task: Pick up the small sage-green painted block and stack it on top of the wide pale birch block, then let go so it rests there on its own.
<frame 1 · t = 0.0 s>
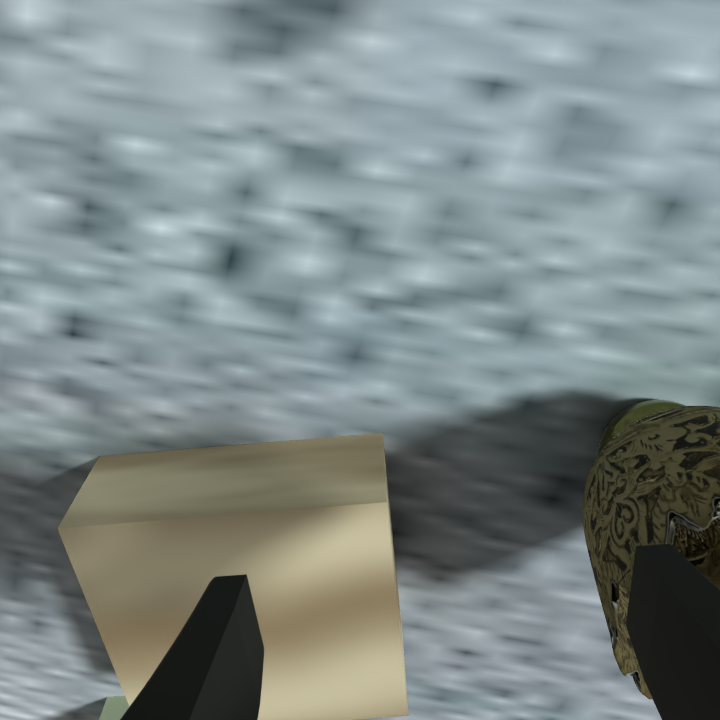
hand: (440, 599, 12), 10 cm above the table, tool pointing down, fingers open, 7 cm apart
birch block: (264, 545, 26), on the table
cup: (642, 433, 23), on the table
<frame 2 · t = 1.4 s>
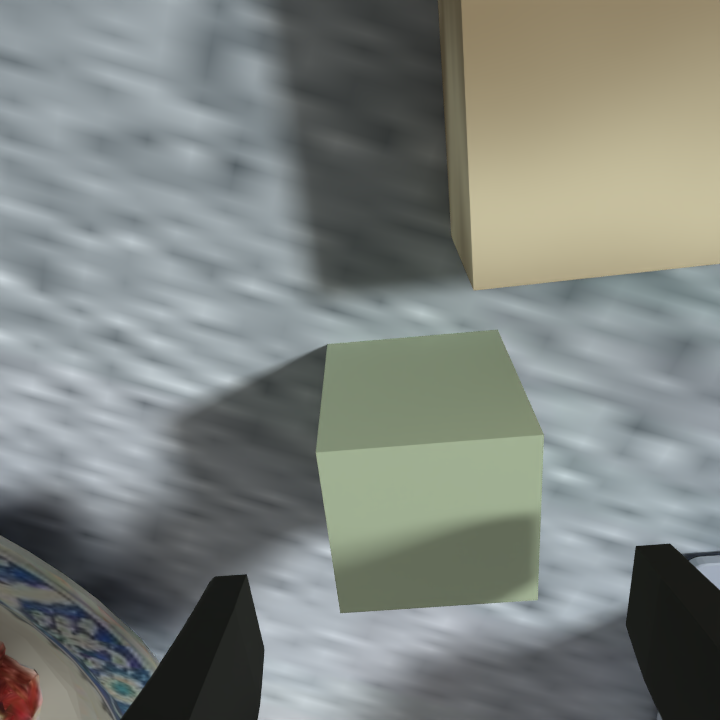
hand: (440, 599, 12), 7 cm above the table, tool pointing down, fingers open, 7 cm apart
green block: (416, 408, 18), on the table
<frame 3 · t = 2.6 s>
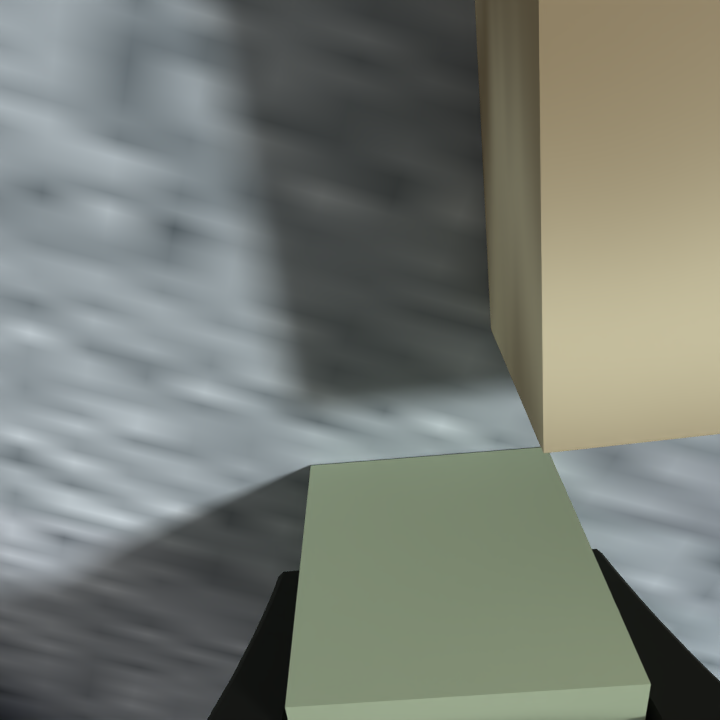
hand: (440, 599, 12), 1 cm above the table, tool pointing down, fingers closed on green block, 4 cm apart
green block: (433, 545, 14), on the table, touching gripper
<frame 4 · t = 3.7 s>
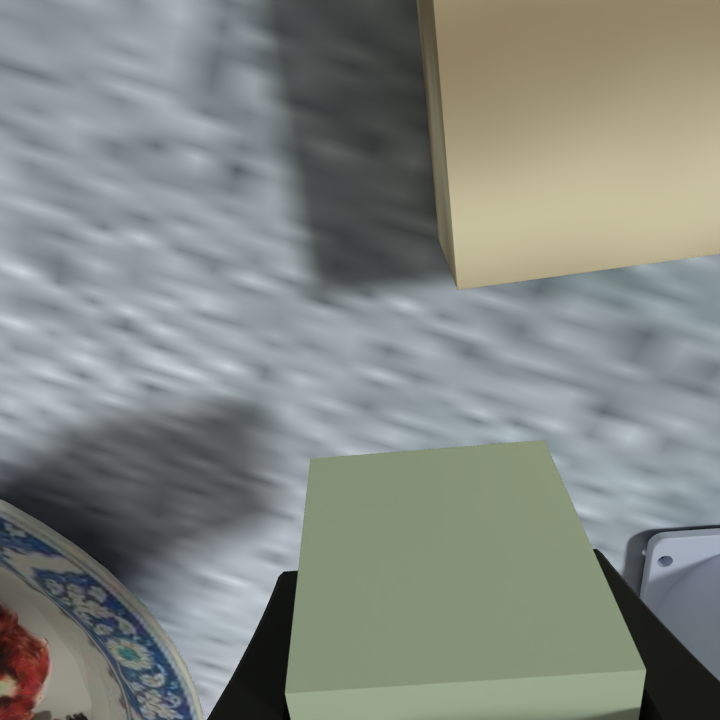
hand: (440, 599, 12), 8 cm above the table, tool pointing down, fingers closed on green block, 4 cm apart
green block: (431, 538, 14), point 7 cm above the table, touching gripper
birch block: (629, 2, 16), on the table
when the fingers open (6 cm above the table, at t = 5.3 s): green block drops 1 cm, point 4 cm above the table.
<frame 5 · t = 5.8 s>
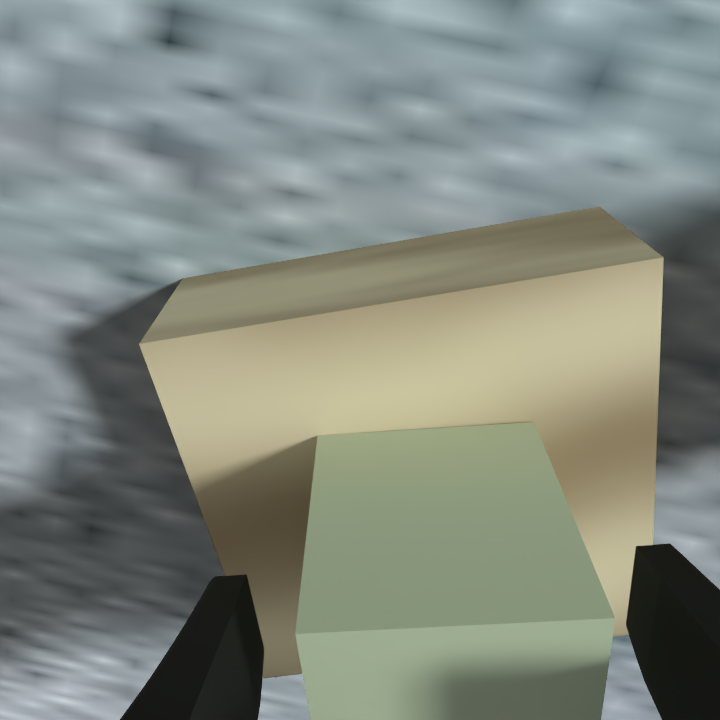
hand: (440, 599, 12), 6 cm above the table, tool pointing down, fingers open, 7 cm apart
green block: (428, 512, 15), point 4 cm above the table
birch block: (413, 410, 18), on the table
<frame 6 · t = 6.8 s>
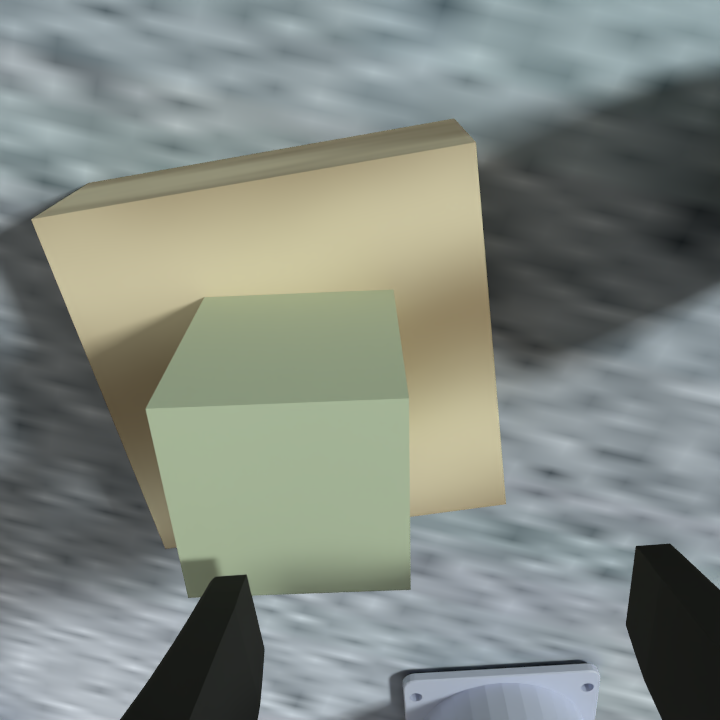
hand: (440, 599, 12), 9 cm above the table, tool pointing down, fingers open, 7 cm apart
green block: (306, 376, 17), point 4 cm above the table, touching birch block
birch block: (306, 314, 20), on the table, touching green block
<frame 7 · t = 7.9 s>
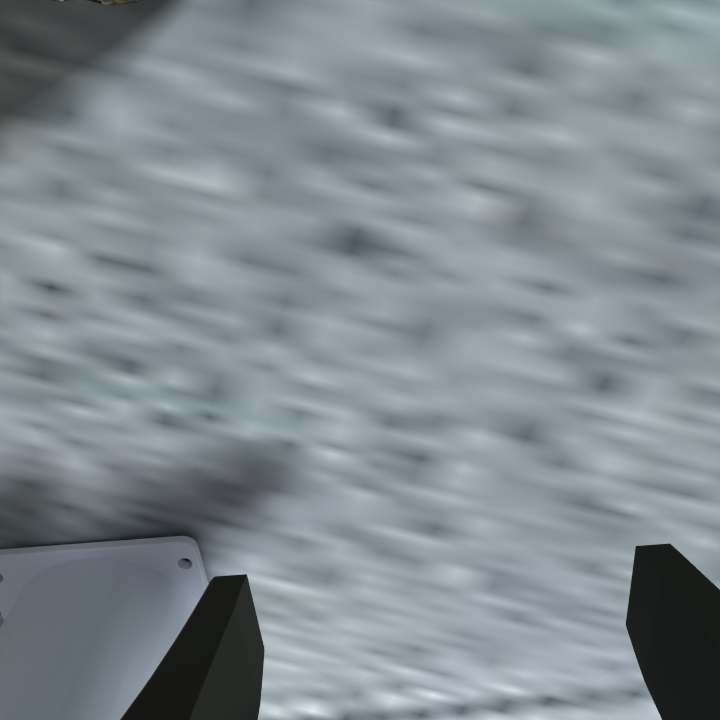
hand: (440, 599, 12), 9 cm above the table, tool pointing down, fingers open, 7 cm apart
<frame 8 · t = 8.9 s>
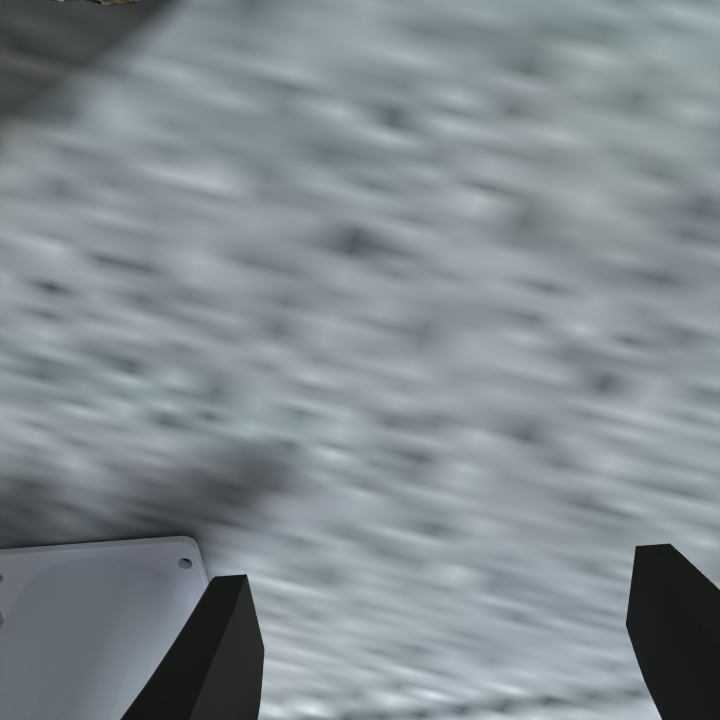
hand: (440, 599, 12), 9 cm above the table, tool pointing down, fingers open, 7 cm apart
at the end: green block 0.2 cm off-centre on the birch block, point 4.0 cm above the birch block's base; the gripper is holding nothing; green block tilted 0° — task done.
